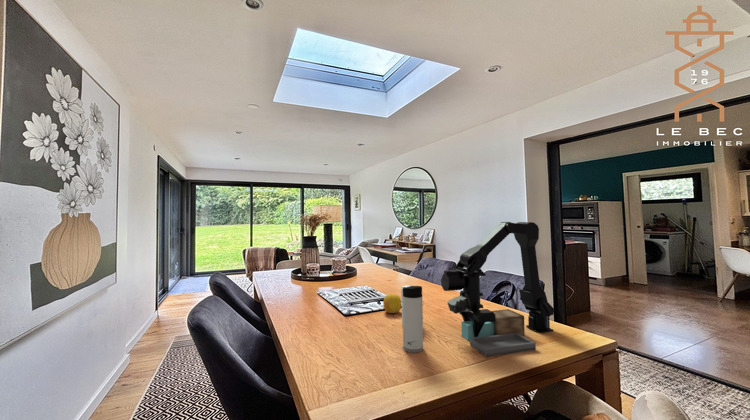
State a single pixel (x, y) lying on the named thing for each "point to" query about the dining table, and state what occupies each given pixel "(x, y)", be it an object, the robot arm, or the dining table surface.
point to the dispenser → (509, 322)
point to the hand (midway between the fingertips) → (472, 334)
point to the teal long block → (486, 330)
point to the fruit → (392, 303)
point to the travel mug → (412, 319)
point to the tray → (502, 344)
